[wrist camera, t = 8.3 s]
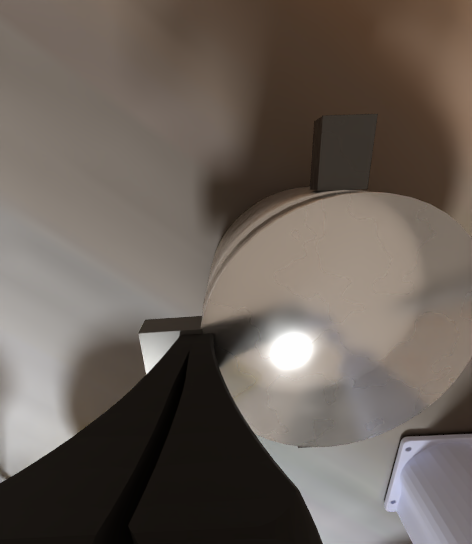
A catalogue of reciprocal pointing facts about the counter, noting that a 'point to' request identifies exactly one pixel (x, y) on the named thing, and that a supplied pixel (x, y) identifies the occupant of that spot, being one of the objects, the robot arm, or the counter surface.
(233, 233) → the cooker pot
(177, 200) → the counter surface
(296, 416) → the cooker lid
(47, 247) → the counter surface
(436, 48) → the counter surface
